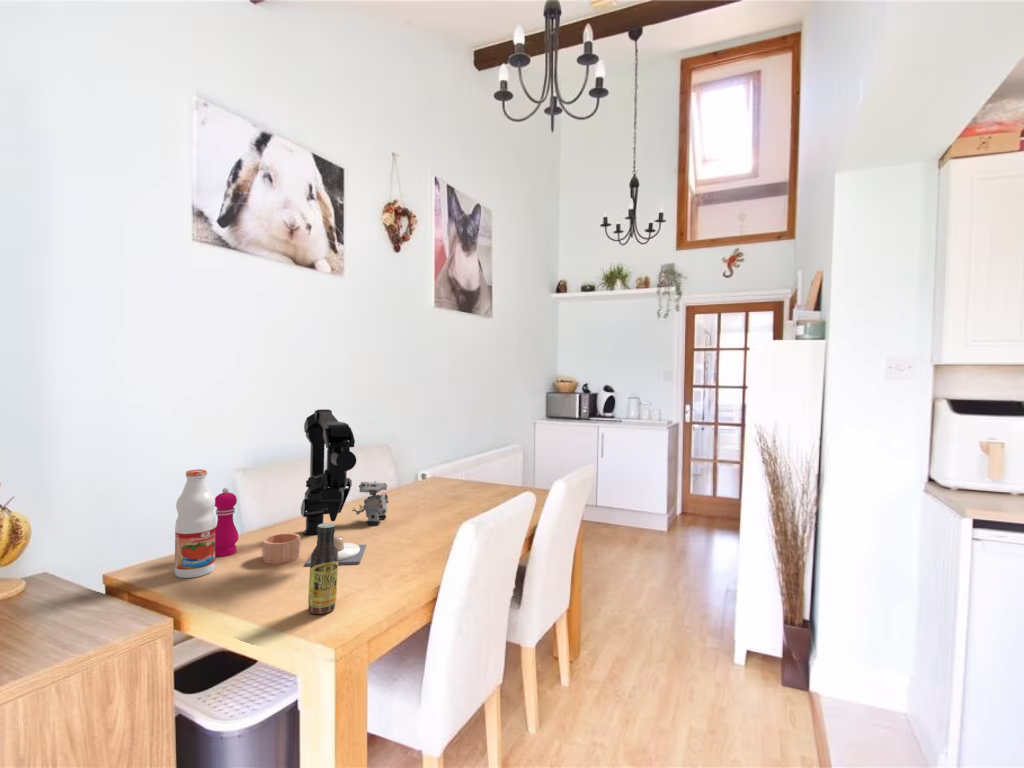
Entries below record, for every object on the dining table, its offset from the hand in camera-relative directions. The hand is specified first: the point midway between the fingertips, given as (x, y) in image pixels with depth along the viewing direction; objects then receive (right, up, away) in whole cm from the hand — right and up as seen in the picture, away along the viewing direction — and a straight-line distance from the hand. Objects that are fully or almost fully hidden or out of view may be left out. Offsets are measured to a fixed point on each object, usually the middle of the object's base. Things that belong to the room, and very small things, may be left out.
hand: (336, 516), depth 153 cm
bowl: (-16, -12, -2) cm, 20 cm away
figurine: (0, -12, +37) cm, 39 cm away
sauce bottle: (+9, -13, -35) cm, 38 cm away
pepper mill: (-34, -12, +1) cm, 36 cm away
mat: (0, -12, 0) cm, 12 cm away
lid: (0, -11, 0) cm, 11 cm away
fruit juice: (-34, -12, -14) cm, 39 cm away
